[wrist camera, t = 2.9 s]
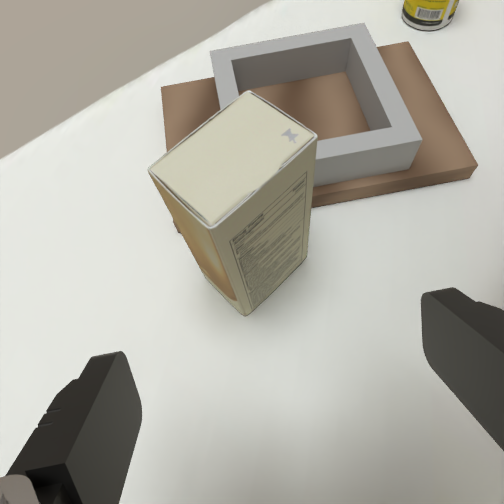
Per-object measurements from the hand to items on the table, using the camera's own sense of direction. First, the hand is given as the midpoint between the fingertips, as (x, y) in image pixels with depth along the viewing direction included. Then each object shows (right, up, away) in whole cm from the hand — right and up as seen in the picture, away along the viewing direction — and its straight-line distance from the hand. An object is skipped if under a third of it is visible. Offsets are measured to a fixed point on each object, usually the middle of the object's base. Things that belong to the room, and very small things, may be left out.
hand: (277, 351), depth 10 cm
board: (+4, +12, +21) cm, 25 cm away
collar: (+3, +13, +20) cm, 24 cm away
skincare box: (0, +1, +16) cm, 17 cm away
